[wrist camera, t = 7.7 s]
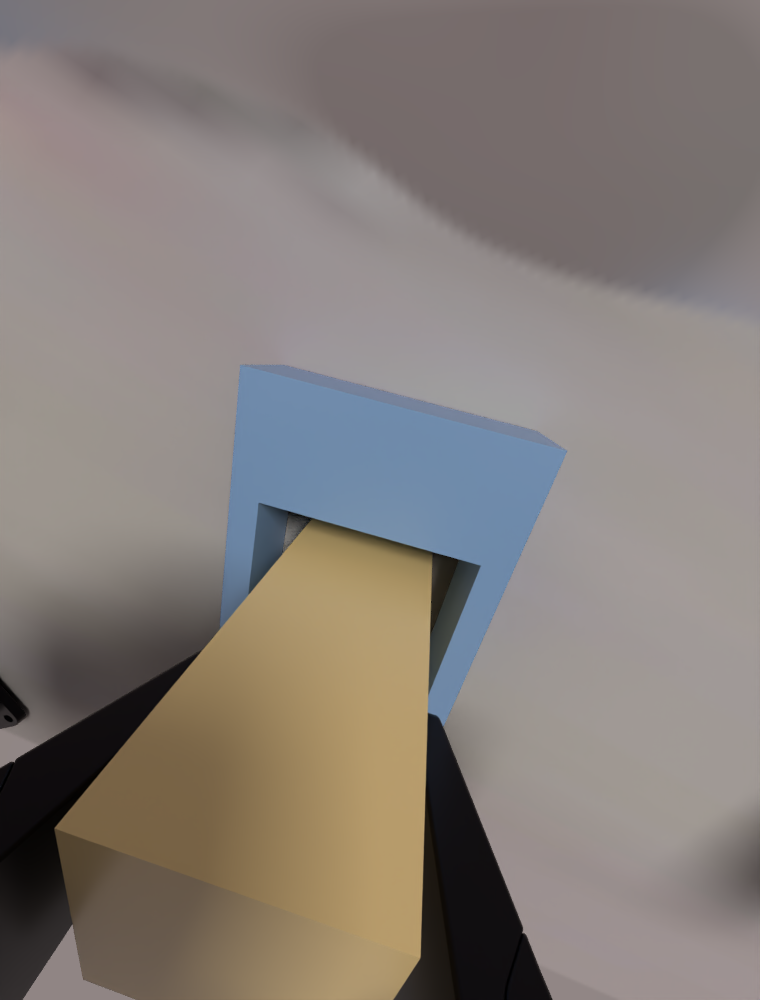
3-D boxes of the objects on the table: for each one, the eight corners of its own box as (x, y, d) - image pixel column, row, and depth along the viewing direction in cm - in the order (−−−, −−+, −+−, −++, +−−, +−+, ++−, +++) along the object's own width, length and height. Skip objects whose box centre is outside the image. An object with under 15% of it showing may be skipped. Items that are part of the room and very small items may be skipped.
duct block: (380, 817, 17) (371, 886, 15) (234, 769, 18) (203, 829, 16) (537, 431, 10) (566, 450, 8) (283, 365, 11) (240, 364, 8)
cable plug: (401, 634, 13) (342, 1077, 5) (300, 604, 14) (82, 979, 5) (432, 543, 12) (420, 958, 4) (318, 511, 12) (54, 827, 4)
